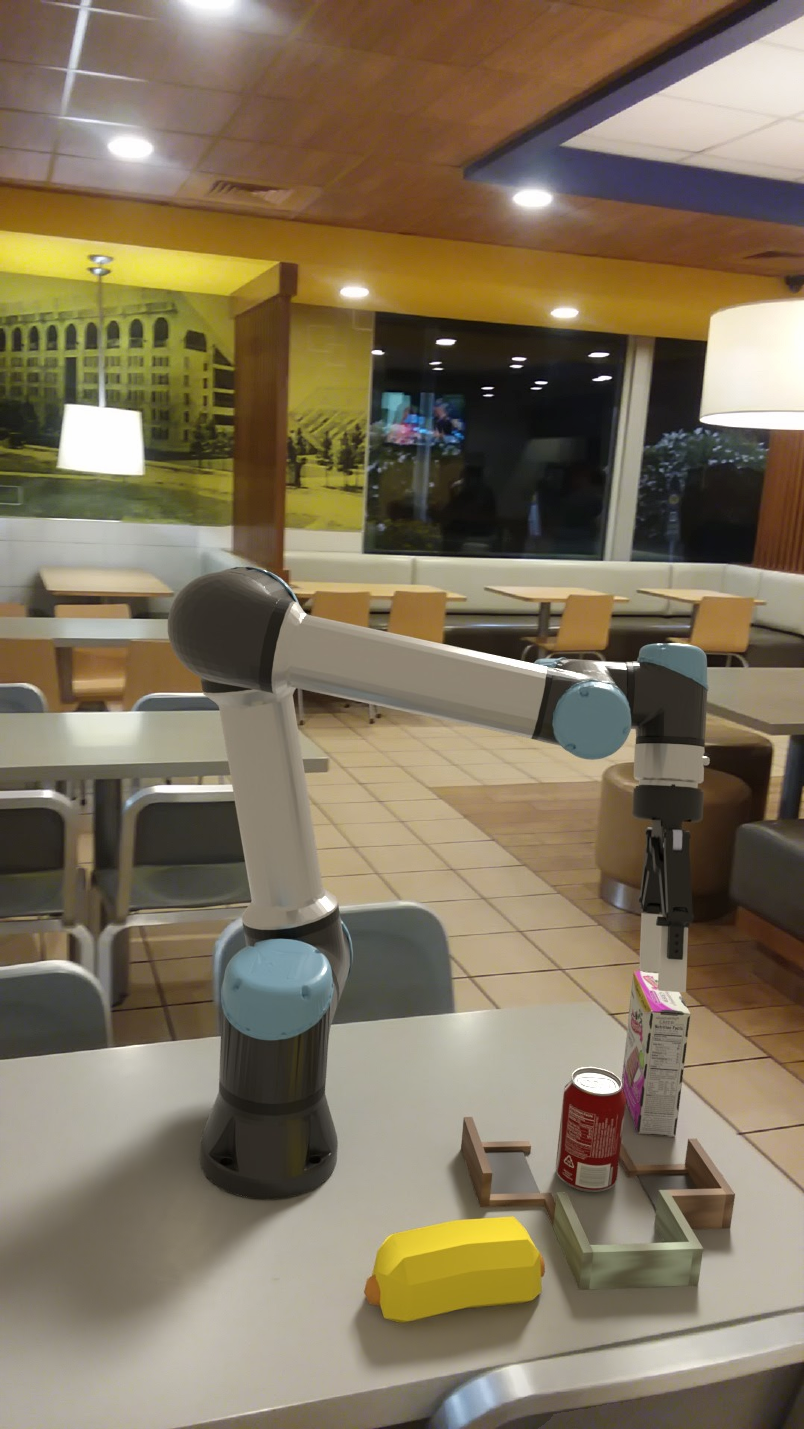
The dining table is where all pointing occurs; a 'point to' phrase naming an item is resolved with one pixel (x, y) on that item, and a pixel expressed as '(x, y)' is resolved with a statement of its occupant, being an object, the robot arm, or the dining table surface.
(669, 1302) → the dining table surface
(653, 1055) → the candy bar box
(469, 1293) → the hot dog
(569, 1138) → the soda can
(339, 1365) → the dining table surface
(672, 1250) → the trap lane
